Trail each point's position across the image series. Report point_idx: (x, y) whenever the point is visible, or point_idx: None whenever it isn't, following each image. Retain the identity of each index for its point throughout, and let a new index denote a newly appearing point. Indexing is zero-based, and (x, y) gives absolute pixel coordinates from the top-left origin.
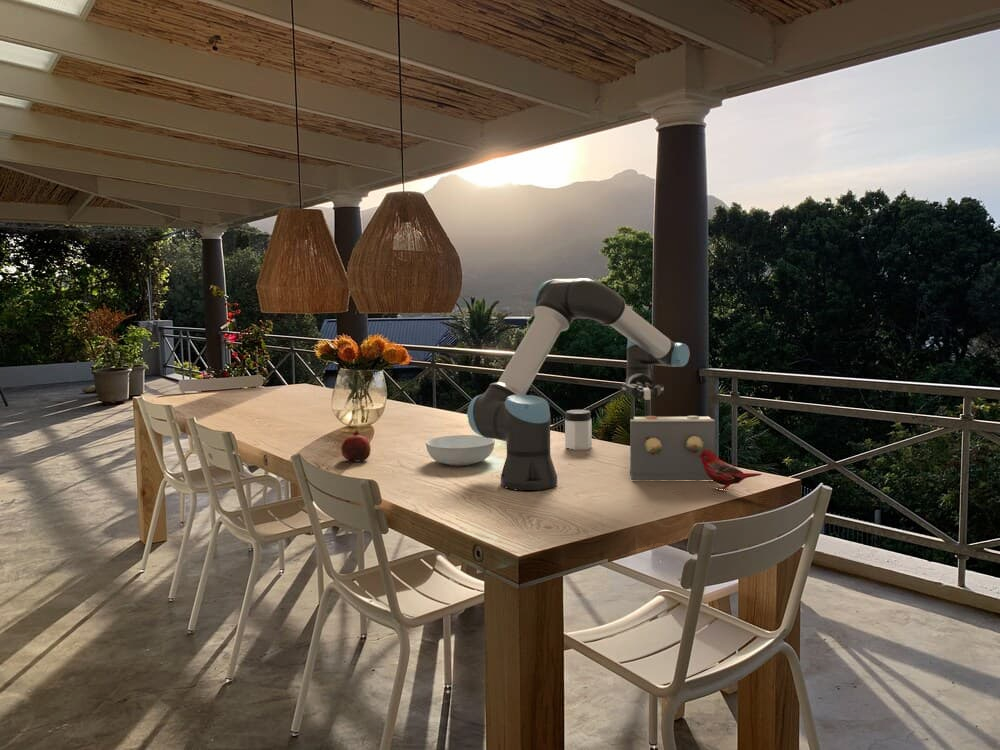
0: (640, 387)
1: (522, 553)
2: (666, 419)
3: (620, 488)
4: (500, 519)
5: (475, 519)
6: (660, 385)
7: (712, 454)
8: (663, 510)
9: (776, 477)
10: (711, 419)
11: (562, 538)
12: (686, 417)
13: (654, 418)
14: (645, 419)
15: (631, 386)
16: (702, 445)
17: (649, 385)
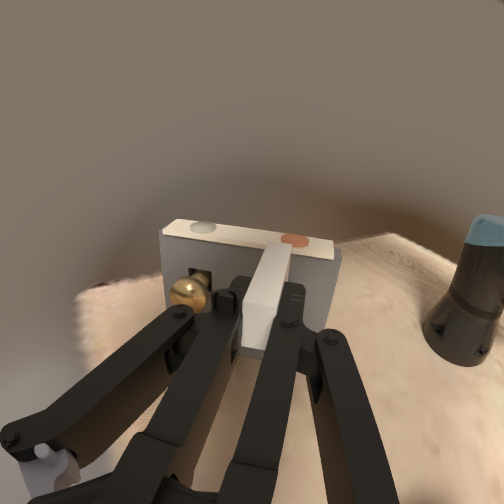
0: (293, 320)
1: (392, 234)
2: (264, 231)
3: (336, 314)
4: (430, 266)
5: (446, 268)
6: (48, 409)
7: None
8: None
9: (88, 304)
10: (177, 219)
11: (376, 241)
12: (214, 231)
13: (290, 234)
14: (310, 237)
15: (353, 403)
16: None
17: (147, 431)
